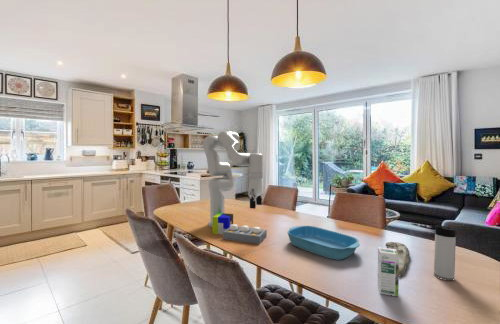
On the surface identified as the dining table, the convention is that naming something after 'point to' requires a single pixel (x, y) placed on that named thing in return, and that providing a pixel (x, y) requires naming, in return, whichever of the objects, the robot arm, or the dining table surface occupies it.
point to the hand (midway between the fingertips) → (255, 206)
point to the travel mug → (444, 252)
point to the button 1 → (233, 227)
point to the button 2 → (256, 230)
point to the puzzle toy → (222, 222)
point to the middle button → (245, 228)
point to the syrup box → (388, 271)
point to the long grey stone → (400, 255)
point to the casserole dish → (323, 241)
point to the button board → (245, 235)
